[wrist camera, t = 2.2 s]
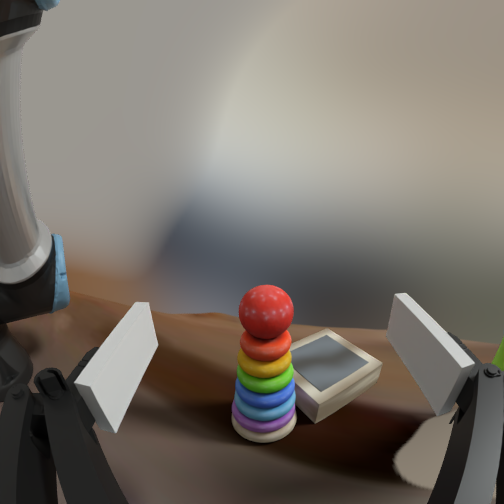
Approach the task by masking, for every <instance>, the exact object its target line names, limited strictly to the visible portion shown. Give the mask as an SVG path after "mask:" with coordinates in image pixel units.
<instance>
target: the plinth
mask: <svg viewBox="0 0 504 504" xmlns="http://www.w3.org/2000/svg"><path fill="white" fill-rule="evenodd" d="M289 350H290V352H291V356H292V360H291V363H292V365H293V369H294V374H293V379H294V382H295V389H294V390H295V394H296V399H295V405H296V406H297V407H298V408H299V409H300V410H301V411H302V412H303V413H304V414H306V415H307V416H308V417H309V418H310V419H311V420H312V421H313V422H314V423H317V422H319V421H321V420H322V419H324V418H326V417H327V416H329V415H330V414H332V413H334V412H335V411H337V410H338V409H340V408H341V407H343V406H344V405H346V404H347V403H349V402H350V401H352V400H353V399H355V398H356V397H358V396H359V395H361V394H362V393H363V392H365V391H366V390H368V389H369V388H370V387H372V386H373V385H374V384H376V383H377V380H378V377H379V373H380V370H381V367H382V364H383V363H382V362H380V361H379V360H377V359H375V358H374V357H372V356H371V355H369V354H367V353H366V352H364V351H363V350H361V349H359V348H358V347H356V346H355V345H353V344H351V343H350V342H348V341H347V340H345V339H343V338H342V337H340V336H339V335H337V334H336V333H334V332H332V331H331V330H329V329H328V328H326V329H324V330H322V331H320V332H317V333H315V334H313V335H311V336H308V337H306V338H304V339H301V340H299V341H296V342H294V343H292V344H291V346H290V349H289Z"/></svg>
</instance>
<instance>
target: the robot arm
mask: <svg viewBox="0 0 504 504" xmlns="http://www.w3.org/2000/svg"><path fill="white" fill-rule="evenodd" d="M59 1H60V0H0V402H2V401H4V404H3V407H2V411H1V415H0V504H58V498H57V482H56V471H57V474H58V478H59V481H60V484H61V487H62V490H63V493H64V496H65V499H66V502H67V504H128V502H127V500H126V498H125V497H124V495H123V493H122V491H121V489H120V487H119V485H118V483H117V481H116V479H115V477H114V475H113V473H112V471H111V469H110V467H109V465H108V462H107V460H106V458H105V456H104V453H103V451H102V449H101V446H100V444H99V441H98V439H97V436H96V433H95V431H94V430H93V428H92V426H93V424H94V422H95V421H96V423H97V424H98V426H99V428H100V429H101V430H105V431H108V432H112V433H116V432H117V430H118V428H119V426H120V423H121V421H122V419H123V417H124V415H125V412H126V410H127V408H128V406H129V404H130V402H131V400H132V397H133V395H134V393H135V391H136V389H137V387H138V385H139V383H140V381H141V379H142V377H143V375H144V372H145V370H146V368H147V366H148V364H149V362H150V360H151V358H152V356H153V354H154V352H155V350H156V348H157V346H158V342H157V338H156V334H155V330H154V325H153V321H152V316H151V312H150V307H149V303H148V302H136V303H135V304H134V305H133V306H132V307H131V309H130V310H129V311H128V312H127V314H126V315H125V316H124V317H123V319H122V320H121V321H120V322H119V324H118V325H117V326H116V327H115V329H114V330H113V331H112V332H111V334H110V335H109V336H108V338H107V339H106V340H105V342H104V343H103V344H102V345H101V347H94V348H93V349H91V350H90V351H89V352H87V353H86V354H85V356H84V357H83V358H82V361H80V362H79V363H78V366H76V367H75V369H74V370H73V371H72V373H71V374H70V375H69V377H68V378H67V379H66V381H65V379H64V377H63V375H62V373H61V371H60V370H58V369H57V368H46V369H44V370H41V371H40V372H39V373H37V375H36V376H35V378H34V384H35V385H36V387H37V389H38V391H39V392H40V393H32V392H31V390H30V389H29V387H28V386H27V384H28V382H29V380H30V379H31V376H32V373H33V364H32V362H31V360H30V357H29V355H28V353H27V352H26V350H25V349H24V348H23V347H22V346H21V345H20V343H19V342H18V341H17V340H16V338H15V337H14V336H13V335H12V333H11V332H10V331H9V329H8V327H7V324H6V323H9V322H13V321H18V320H22V319H26V318H30V317H34V316H38V315H43V314H47V313H50V314H51V313H53V312H54V311H57V310H60V309H63V308H66V307H67V306H68V304H69V302H70V295H69V289H68V282H67V276H66V268H65V259H64V251H63V242H62V237H61V236H60V235H55V234H51V233H50V231H49V228H48V227H47V225H46V224H45V223H43V222H42V221H40V220H39V219H36V215H35V211H34V207H33V202H32V198H31V193H30V188H29V182H28V177H27V171H26V165H25V157H24V149H23V140H22V128H21V111H20V79H21V61H22V50H23V46H24V44H25V42H26V41H27V40H28V39H29V38H30V37H31V36H32V35H33V34H34V33H35V32H36V31H37V30H38V28H39V27H40V22H41V17H42V12H43V10H45V11H48V10H49V9H51V8H53V7H56V6H57V5H58V3H59ZM386 337H387V339H388V340H389V342H390V343H391V345H392V346H393V348H394V349H395V351H396V352H397V353H398V355H399V356H400V358H401V359H402V361H403V362H404V364H405V366H406V367H407V369H408V370H409V372H410V373H411V375H412V376H413V378H414V379H415V381H416V383H417V384H418V386H419V387H420V389H421V390H422V392H423V394H424V395H425V397H426V399H427V400H428V402H429V403H430V405H431V407H432V408H433V410H434V412H435V413H436V415H437V416H439V415H442V414H445V413H447V412H450V411H451V409H452V407H453V406H454V404H455V402H456V403H457V404H458V406H459V407H458V409H457V411H456V412H455V414H454V416H453V417H452V419H451V421H450V423H449V424H451V423H452V422H453V420H454V424H453V428H452V433H451V436H450V440H449V444H448V448H447V451H446V454H445V458H444V461H443V464H442V467H441V470H440V473H439V475H438V478H437V481H436V484H435V486H434V489H433V491H432V494H431V496H430V498H429V501H428V503H427V504H491V500H492V496H493V492H494V487H495V483H496V504H504V371H501V369H500V368H499V367H498V366H496V365H494V364H491V363H485V364H482V363H481V362H480V361H479V360H478V358H477V357H476V356H475V355H474V354H473V353H472V352H471V351H470V350H469V349H467V347H466V346H465V345H464V344H463V343H462V342H461V341H460V340H459V339H458V338H457V337H456V336H454V335H452V334H451V333H449V332H448V333H446V332H445V331H444V330H443V329H442V328H441V327H440V326H439V325H438V324H437V322H435V320H433V319H432V318H431V317H430V316H429V315H428V314H427V313H426V312H425V311H424V310H423V309H422V308H421V307H420V306H419V305H418V304H417V303H416V302H415V301H414V300H413V299H412V298H411V297H410V296H409V295H408V294H407V293H401V294H395V295H394V300H393V305H392V311H391V315H390V320H389V325H388V329H387V334H386Z"/></svg>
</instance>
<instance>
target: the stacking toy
mask: <svg viewBox="0 0 504 504" xmlns="http://www.w3.org/2000/svg"><path fill="white" fill-rule="evenodd" d="M293 312H294V311H293V304H292V301H291V299H290V297H289V296H288V295H287V294H286V293H285V292H284V291H283V290H282V289H280V288H278V287H276V286H272V285H261V286H257V287H255V288H252V289H251V290H249V291H248V292H247V293H246V294H245V295H244V297H243V298H242V300H241V302H240V305H239V318H240V321H241V324H242V325H243V327H244V329H245V331H244V333H243V334H242V336H241V339H240V345H241V349H240V350H239V353H238V357H237V359H238V364H239V365H238V367H237V376H238V377H237V379H236V384H235V387H236V391H235V396H234V398H235V399H234V401H233V403H232V424H233V427H234V429H235V430H236V431H237V432H238V433H239V434H240V435H241V436H242V437H244V438H246V439H248V440H250V441H254V442H260V443H267V442H273V441H277V440H279V439H282V438H283V437H285V436H286V435H288V434H289V433H290V432H291V431H292V429H293V428H294V426H295V424H296V420H297V414H296V410H295V399H296V394H295V390H294V389H295V382H294V379H293V374H294V369H293V365H292V363H291V360H292V356H291V352H290V350H289V349H290V346H291V336H290V334H289V332H288V331H287V328H288V327H289V326H290V324H291V322H292V318H293Z"/></svg>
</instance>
